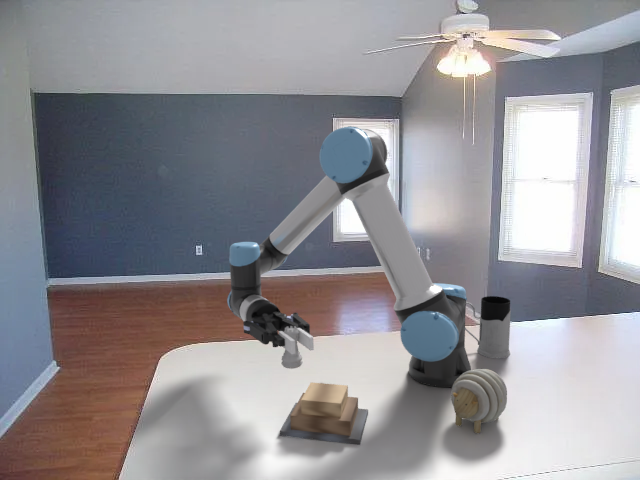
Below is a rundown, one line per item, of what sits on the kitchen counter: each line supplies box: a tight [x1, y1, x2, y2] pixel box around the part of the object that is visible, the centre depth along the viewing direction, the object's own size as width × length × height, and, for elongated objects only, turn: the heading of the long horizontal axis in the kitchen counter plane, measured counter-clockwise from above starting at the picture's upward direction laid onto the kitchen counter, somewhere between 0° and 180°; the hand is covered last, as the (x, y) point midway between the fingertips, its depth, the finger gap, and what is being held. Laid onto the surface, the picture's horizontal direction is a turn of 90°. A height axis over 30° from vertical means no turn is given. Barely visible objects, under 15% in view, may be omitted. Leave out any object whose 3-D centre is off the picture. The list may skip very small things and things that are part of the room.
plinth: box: [279, 382, 369, 445], centre depth 105 cm, size 16×12×7 cm
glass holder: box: [465, 295, 512, 359], centre depth 142 cm, size 9×14×15 cm, turn 71°
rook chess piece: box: [280, 326, 303, 370], centre depth 106 cm, size 4×4×8 cm
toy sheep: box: [450, 368, 508, 434], centre depth 105 cm, size 11×17×11 cm, turn 138°
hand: (302, 345), depth 101 cm, fingers closed on rook chess piece, 3 cm apart
